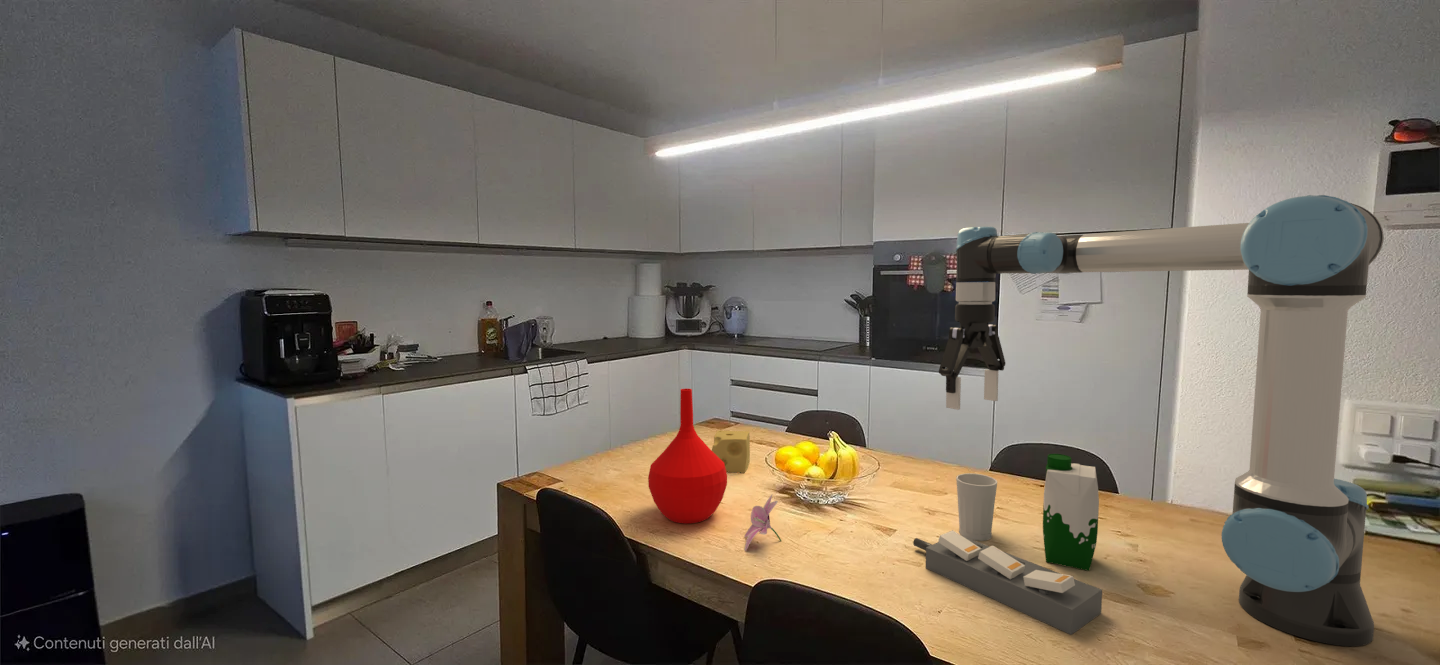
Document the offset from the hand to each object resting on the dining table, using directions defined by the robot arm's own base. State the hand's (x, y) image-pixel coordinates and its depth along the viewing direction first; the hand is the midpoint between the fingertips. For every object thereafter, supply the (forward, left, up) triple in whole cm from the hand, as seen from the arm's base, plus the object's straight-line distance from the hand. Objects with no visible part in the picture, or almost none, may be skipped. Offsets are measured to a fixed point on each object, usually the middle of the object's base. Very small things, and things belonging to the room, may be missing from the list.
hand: (972, 404), depth 124 cm
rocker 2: (-17, +18, -22) cm, 33 cm away
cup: (-1, 0, -28) cm, 28 cm away
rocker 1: (-9, +18, -22) cm, 30 cm away
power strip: (-14, +16, -28) cm, 35 cm away
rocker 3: (-25, +18, -22) cm, 38 cm away
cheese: (+67, +15, -28) cm, 74 cm away
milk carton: (-18, -4, -28) cm, 34 cm away
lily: (+23, +39, -28) cm, 53 cm away
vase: (+44, +44, -28) cm, 68 cm away
